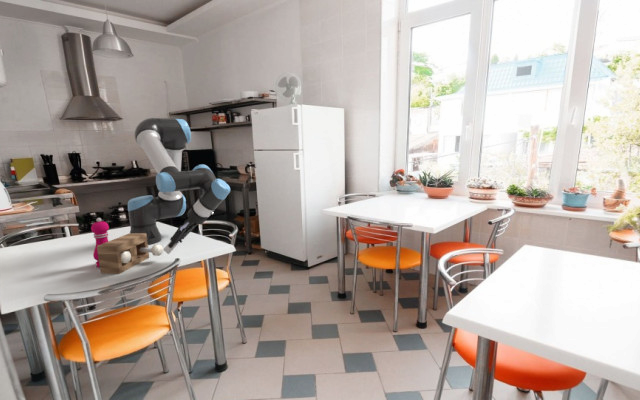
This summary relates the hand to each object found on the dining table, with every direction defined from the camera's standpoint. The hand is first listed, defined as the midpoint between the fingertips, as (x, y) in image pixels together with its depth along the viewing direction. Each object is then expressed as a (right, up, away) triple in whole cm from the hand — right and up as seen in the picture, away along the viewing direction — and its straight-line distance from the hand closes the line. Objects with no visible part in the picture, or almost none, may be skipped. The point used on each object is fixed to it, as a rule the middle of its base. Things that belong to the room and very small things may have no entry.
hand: (166, 251), depth 135 cm
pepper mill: (-25, -6, 0) cm, 26 cm away
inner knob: (-7, -2, +1) cm, 8 cm away
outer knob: (-16, -4, -6) cm, 18 cm away
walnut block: (-16, -5, -2) cm, 17 cm away
